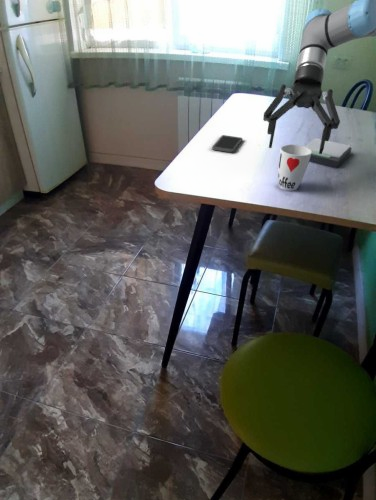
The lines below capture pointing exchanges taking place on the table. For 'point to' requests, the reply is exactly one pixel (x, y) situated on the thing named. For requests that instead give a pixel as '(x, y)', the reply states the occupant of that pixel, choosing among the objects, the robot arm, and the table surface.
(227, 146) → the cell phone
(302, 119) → the table surface
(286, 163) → the cup
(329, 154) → the scale
